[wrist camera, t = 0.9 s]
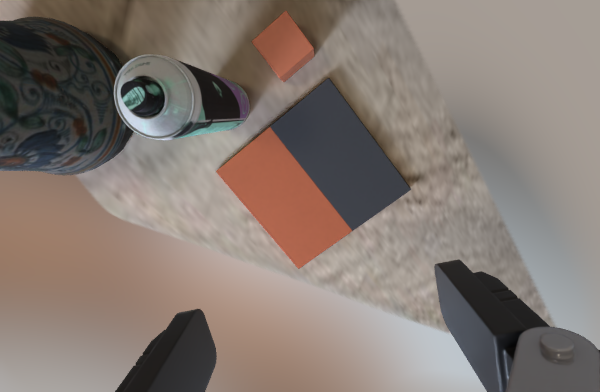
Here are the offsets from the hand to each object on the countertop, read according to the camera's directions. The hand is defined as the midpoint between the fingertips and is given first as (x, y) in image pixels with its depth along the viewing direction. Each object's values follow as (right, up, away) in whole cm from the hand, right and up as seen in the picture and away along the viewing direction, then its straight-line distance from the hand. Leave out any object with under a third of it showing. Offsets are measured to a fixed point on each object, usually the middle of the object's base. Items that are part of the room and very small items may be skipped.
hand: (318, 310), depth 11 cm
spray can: (-9, +14, +27) cm, 32 cm away
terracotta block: (-2, +20, +25) cm, 32 cm away
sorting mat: (+1, +6, +29) cm, 29 cm away
